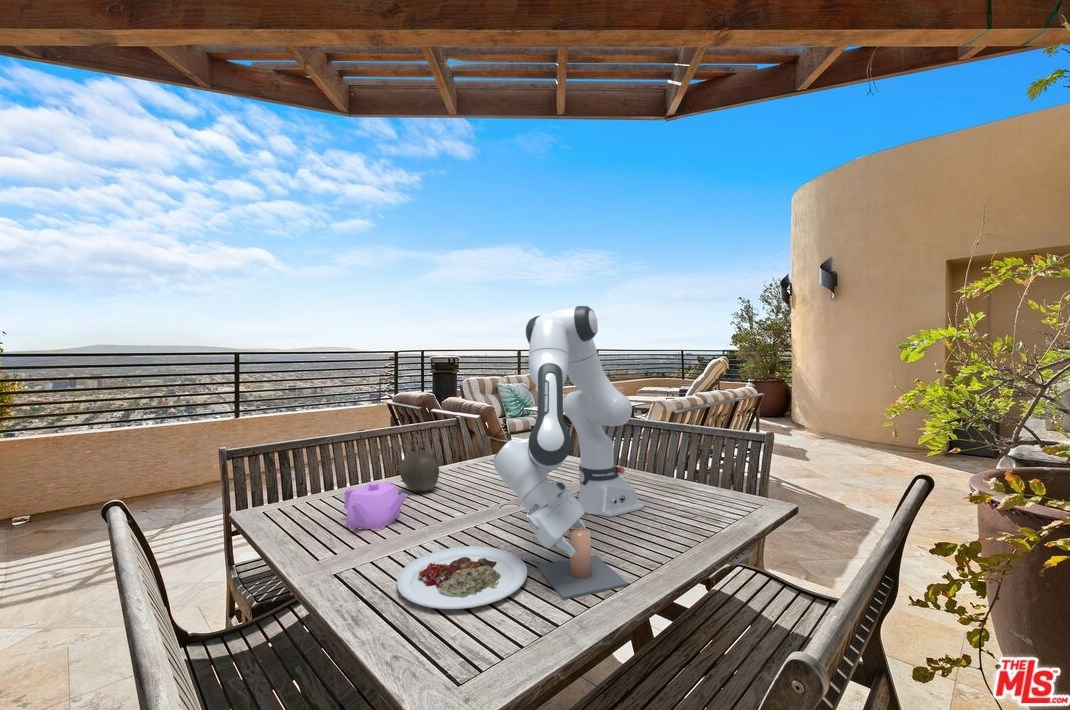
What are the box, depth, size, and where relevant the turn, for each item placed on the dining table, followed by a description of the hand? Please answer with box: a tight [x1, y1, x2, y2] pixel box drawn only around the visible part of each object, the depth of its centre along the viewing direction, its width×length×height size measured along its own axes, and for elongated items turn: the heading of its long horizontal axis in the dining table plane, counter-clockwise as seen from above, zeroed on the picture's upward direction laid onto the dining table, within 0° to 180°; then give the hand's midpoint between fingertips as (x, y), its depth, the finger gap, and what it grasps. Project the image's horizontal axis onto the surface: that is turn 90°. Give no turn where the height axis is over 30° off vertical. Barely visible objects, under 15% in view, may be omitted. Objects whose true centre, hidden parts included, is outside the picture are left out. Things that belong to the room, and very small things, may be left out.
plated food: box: [396, 545, 528, 610], centre depth 113 cm, size 30×30×3 cm
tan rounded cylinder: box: [568, 527, 592, 579], centre depth 113 cm, size 5×5×10 cm
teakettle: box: [343, 481, 408, 530], centre depth 151 cm, size 17×17×12 cm
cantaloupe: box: [399, 451, 440, 492], centre depth 182 cm, size 14×14×15 cm
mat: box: [536, 554, 629, 601], centre depth 113 cm, size 16×16×1 cm
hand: (581, 545), depth 113 cm, fingers open, 8 cm apart
